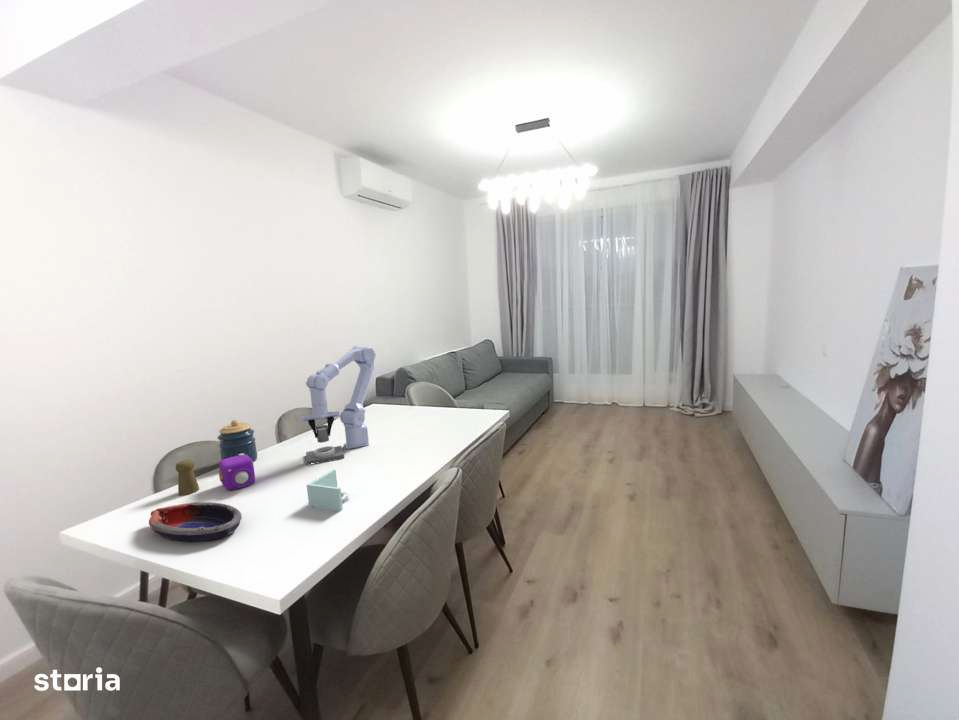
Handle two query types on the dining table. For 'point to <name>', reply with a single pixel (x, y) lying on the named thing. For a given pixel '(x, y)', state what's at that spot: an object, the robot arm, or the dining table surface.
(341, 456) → the grey flat piece
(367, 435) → the robot arm
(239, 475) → the toy camera
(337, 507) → the right angle wall
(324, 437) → the lens
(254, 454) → the canister
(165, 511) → the dish
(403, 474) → the dining table surface
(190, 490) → the olive chess piece
